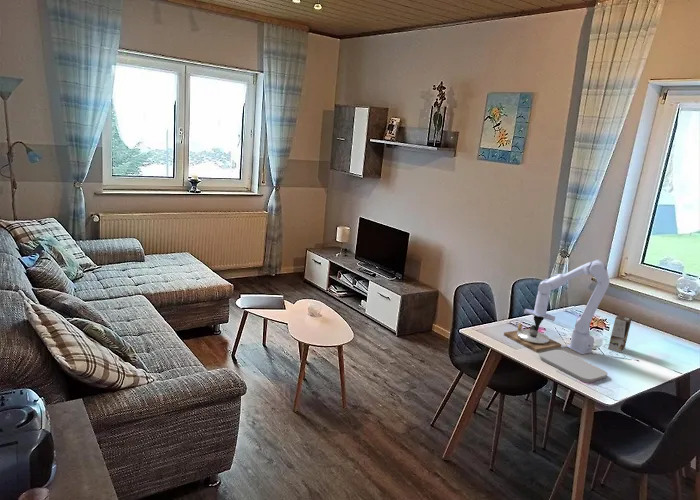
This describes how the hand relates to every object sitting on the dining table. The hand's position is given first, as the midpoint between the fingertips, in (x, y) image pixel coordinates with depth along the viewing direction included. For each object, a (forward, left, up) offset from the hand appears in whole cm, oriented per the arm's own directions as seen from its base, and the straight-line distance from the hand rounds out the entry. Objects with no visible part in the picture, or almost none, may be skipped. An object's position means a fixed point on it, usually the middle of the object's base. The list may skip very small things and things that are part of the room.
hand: (536, 330), depth 252 cm
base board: (-3, +5, -4) cm, 7 cm away
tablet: (-30, +11, -5) cm, 32 cm away
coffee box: (-23, -33, -4) cm, 40 cm away
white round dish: (-3, +5, -2) cm, 6 cm away
